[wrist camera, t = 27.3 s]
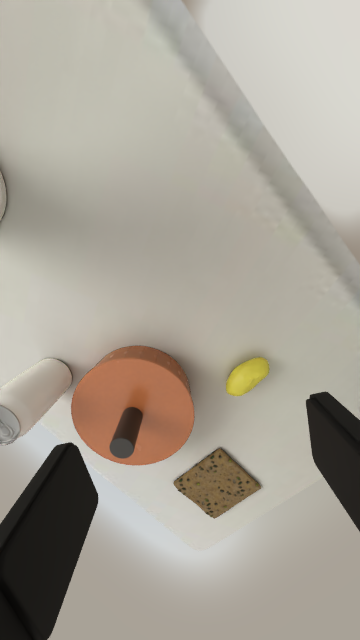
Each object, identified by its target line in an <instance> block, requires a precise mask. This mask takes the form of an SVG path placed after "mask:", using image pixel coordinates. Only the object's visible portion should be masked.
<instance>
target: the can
mask: <svg viewBox="0 0 360 640" xmlns="http://www.w3.org/2000/svg"><path fill="white" fill-rule="evenodd" d="M71 382H72V375H71V372H70V370H69V368H68V367H67V366H66V365H65V364H64V363H63V362H61V361H59V360H56V359H44V360H41V361H39V362H38V363H36V364H35V365H33V366H32V367H30V368H29V369H27V370H26V371H24V372H23V373H21V374H20V375H19V376H17V377H16V378H14V379H13V380H11V381H10V382H8V383H7V384H5V385H4V386H2V387H1V388H0V445H8V444H10V443H12V442H14V441H15V440H16V439H17V438H19V437H21V436H23V435H24V434H26V433H27V432H28V431H29V430H30V429H31V428H32V427H33V426H34V425H35V424H36V423H37V422H38V421H39V420H40V419H41V417H42V416H43V415H44V414H45V413H46V412H47V411H48V410H49V409H50V408H51V407H52V406H53V404H54V403H55V402H56V401H57V400H58V399H59V398H60V397H61V396H62V395H63V393H64V392H65V391H66V390H67V389H68V388H69V386H70V385H71Z"/></svg>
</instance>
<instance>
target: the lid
mask: <svg viewBox="0 0 360 640" xmlns="http://www.w3.org/2000/svg"><path fill="white" fill-rule="evenodd" d="M71 414H72V419H73V423H74V426H75V428H76V430H77V432H78V434H79V436H80V437H81V439H82V440H83V441H84V442H85V443H86V445H87V446H89V447H90V448H91V449H92V450H93V451H95V452H96V453H97V454H99V455H101V456H102V457H104V458H106V459H109V460H111V461H114V462H117V463H121V464H126V465H147V464H152V463H156V462H159V461H162V460H164V459H166V458H168V457H170V456H171V455H173V454H174V453H176V452H177V451H178V450H179V449H180V448H181V447H182V446H183V445H184V443H185V442H186V441H187V439H188V437H189V435H190V433H191V431H192V428H193V424H194V406H193V401H192V398H191V395H190V393H189V391H188V389H187V387H186V386H185V384H184V383H183V382H182V381H181V379H180V378H179V377H178V376H177V375H176V374H174V373H173V372H172V371H171V370H169V369H168V368H166V367H165V366H163V365H161V364H159V363H157V362H154V361H151V360H147V359H143V358H135V357H123V358H117V359H112V360H109V361H106V362H104V363H101V364H99V365H98V366H96V367H94V368H93V369H92V370H90V371H89V372H88V373H87V374H86V375H85V376H84V377H83V378H82V379H81V381H80V382H79V384H78V385H77V387H76V389H75V392H74V394H73V398H72V404H71Z"/></svg>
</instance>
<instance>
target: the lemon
mask: <svg viewBox="0 0 360 640" xmlns="http://www.w3.org/2000/svg"><path fill="white" fill-rule="evenodd" d="M268 373H269V364H268V361H267V360H266V359H264V358H261V357H258V358H254V359H251V360H248V361H246V362H244V363H242V364H241V365H239V366H237V367H236V368H235V369H234V370H233V371H232V373H231V374H230V376H229V378H228V380H227V383H226V391H227V393H228V394H230V395H233V396H241V395H244V394H245V393H247V392H249V391H250V390H251V389H253V388H254V387H255V386H256V385H257V384H258V383H259V382H260V381H261V380H263V379H264V378H265V377H266V376H267V375H268Z"/></svg>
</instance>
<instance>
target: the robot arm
mask: <svg viewBox="0 0 360 640" xmlns="http://www.w3.org/2000/svg"><path fill="white" fill-rule="evenodd" d="M6 196H7V195H6V187H5V183H4V179H3V176H2V174H1V172H0V221H1V218H2V216H3V214H4V211H5V207H6ZM306 407H307V415H308V424H309V432H310V440H311V448H312V456H313V459H314V462H315V464H316V466H317V468H318V469H319V471H320V472H321V474H322V475H323V477H324V478H325V480H326V481H327V483H328V484H329V486H330V487H331V489H332V490H333V492H334V493H335V495H336V496H337V498H338V499H339V501H340V502H341V504H342V505H343V507H344V508H345V510H346V511H347V513H348V514H349V516H350V517H351V519H352V521H353V522H354V524H355V525H356V527H357V528H358V530H359V531H360V420H359V419H358V418H356V417H355V416H354V415H353V414H352V413H351V412H350V411H349V410H347V409H346V408H345V407H344V406H343V405H342V404H341V403H339V402H338V401H337V400H336V399H335V398H334V397H333V396H332V395H330V394H329V393H328V392H321V393H316V394H311V395H310V399H307V400H306ZM97 504H98V493H97V491H96V489H95V486H94V484H93V482H92V479H91V477H90V475H89V473H88V470H87V468H86V465H85V463H84V460H83V458H82V456H81V453H80V451H79V449H78V447H77V446H76V445H74V444H73V443H65V444H60V445H57V446H56V447H54V449H53V450H52V451H51V453H50V454H49V456H48V457H47V459H46V460H45V461H44V463H43V464H42V466H41V467H40V469H39V470H38V471H37V473H36V474H35V476H34V477H33V478H32V480H31V481H30V483H29V484H28V486H27V487H26V488H25V490H24V491H23V493H22V494H21V495H20V497H19V498H18V500H17V501H16V503H15V504H14V506H13V507H12V508H11V510H10V511H9V513H8V514H7V515H6V517H5V518H4V520H3V521H2V523H1V524H0V640H47V639H48V638H49V636H50V635H51V633H52V631H53V628H54V626H55V623H56V620H57V617H58V614H59V611H60V609H61V606H62V603H63V600H64V597H65V594H66V592H67V589H68V586H69V583H70V581H71V578H72V575H73V572H74V569H75V567H76V564H77V561H78V558H79V555H80V552H81V550H82V547H83V544H84V541H85V538H86V536H87V533H88V530H89V527H90V524H91V521H92V519H93V516H94V513H95V510H96V508H97Z"/></svg>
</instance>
